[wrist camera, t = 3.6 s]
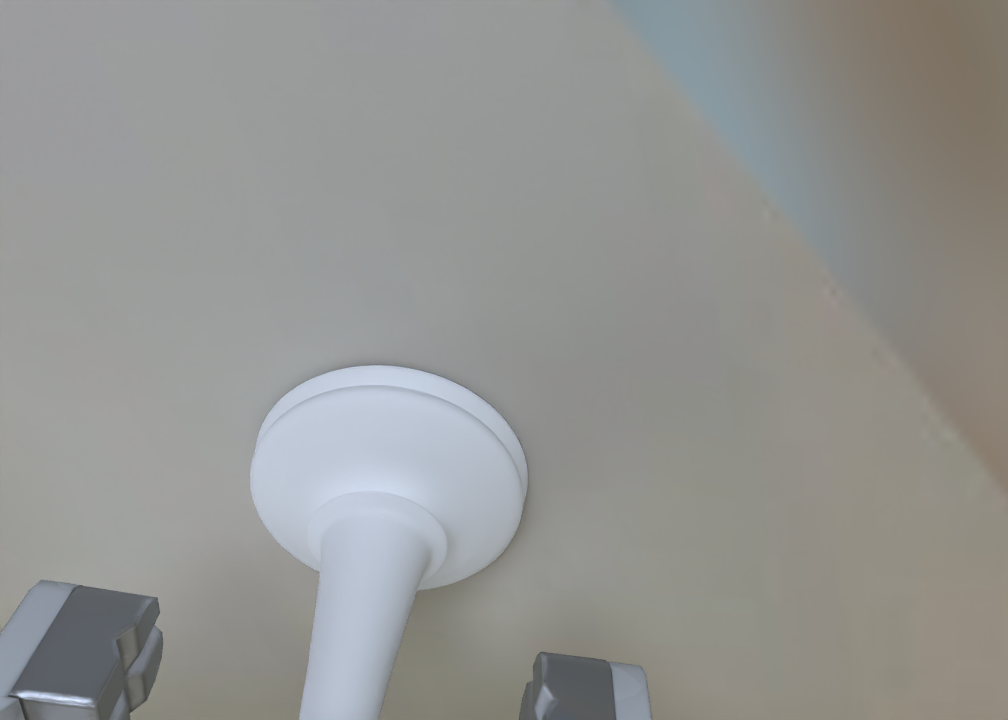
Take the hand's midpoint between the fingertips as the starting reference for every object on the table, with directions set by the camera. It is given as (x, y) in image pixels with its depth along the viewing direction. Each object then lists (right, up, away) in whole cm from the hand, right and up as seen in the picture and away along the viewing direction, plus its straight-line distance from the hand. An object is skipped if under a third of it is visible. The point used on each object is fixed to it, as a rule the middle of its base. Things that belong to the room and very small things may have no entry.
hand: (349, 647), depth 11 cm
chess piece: (0, +2, +3) cm, 4 cm away
